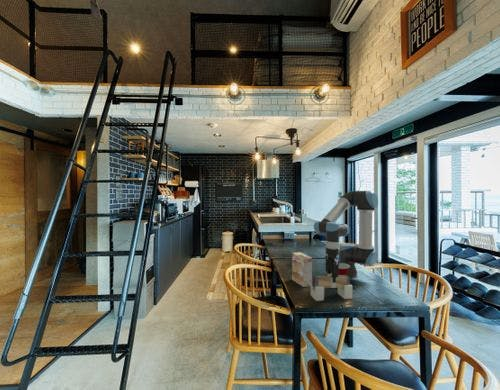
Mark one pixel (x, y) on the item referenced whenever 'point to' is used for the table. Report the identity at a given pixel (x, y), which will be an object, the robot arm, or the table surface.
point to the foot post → (345, 292)
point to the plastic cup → (343, 269)
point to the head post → (317, 292)
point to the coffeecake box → (302, 269)
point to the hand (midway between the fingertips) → (331, 285)
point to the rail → (326, 281)
